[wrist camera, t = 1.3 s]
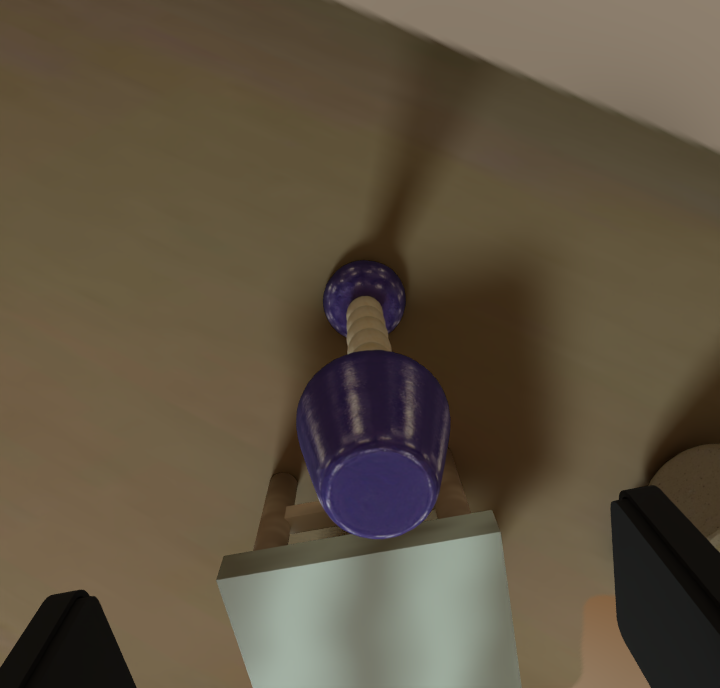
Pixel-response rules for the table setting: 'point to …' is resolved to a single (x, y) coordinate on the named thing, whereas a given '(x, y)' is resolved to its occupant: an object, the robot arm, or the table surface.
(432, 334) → the table surface
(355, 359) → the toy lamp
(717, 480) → the ceramic mug
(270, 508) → the footstool
